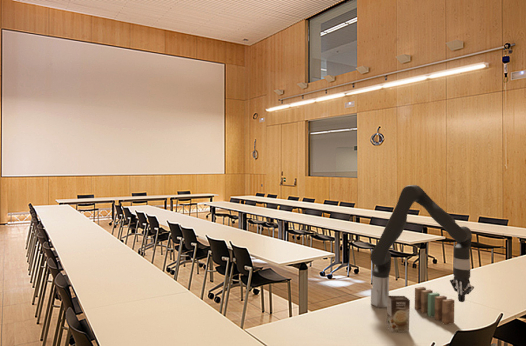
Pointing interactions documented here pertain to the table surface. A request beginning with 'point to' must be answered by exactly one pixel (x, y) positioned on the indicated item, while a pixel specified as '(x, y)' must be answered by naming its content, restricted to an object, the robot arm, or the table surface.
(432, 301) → the domino
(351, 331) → the table surface
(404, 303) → the coffee box
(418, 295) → the domino
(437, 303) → the domino
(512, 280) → the table surface
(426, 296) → the domino
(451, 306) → the domino
